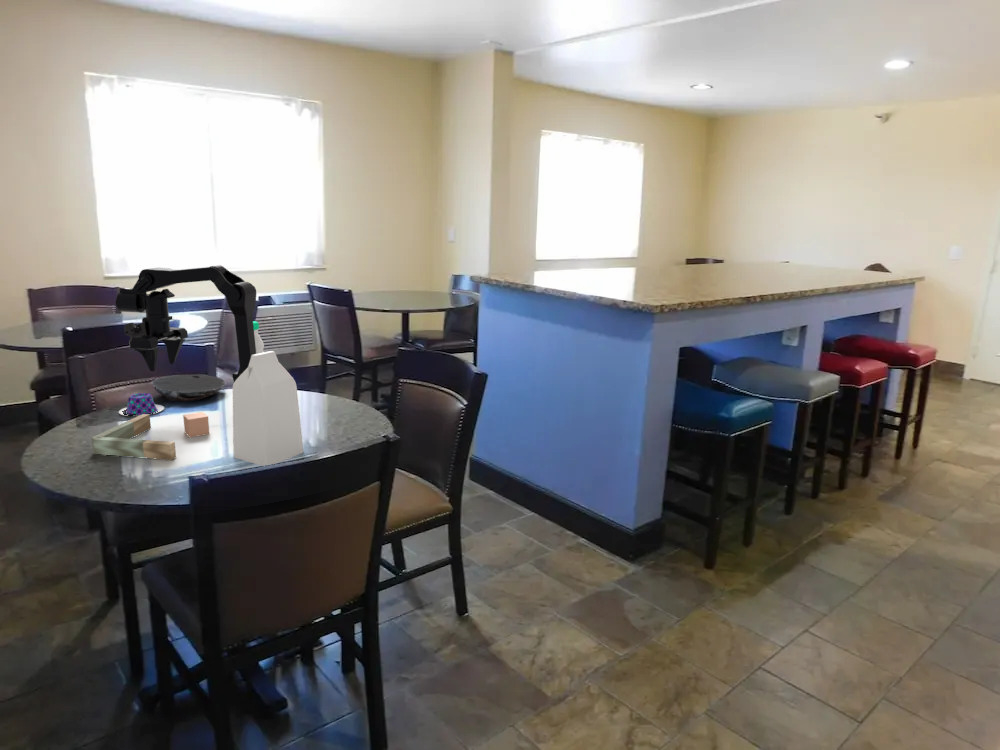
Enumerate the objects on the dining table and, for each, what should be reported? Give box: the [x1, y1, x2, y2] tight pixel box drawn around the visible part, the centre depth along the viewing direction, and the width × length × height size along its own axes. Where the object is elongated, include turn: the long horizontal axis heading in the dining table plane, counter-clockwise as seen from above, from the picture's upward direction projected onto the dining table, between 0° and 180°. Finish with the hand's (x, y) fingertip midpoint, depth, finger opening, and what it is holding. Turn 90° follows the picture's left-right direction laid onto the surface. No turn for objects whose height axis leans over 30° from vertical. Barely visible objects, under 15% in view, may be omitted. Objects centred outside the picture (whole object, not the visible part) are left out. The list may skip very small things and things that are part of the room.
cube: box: [182, 411, 210, 438], centre depth 183 cm, size 5×5×5 cm
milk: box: [232, 350, 304, 467], centre depth 166 cm, size 12×12×26 cm
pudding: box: [118, 392, 165, 417], centre depth 200 cm, size 12×12×5 cm
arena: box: [91, 414, 177, 461], centre depth 174 cm, size 21×21×4 cm
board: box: [150, 374, 227, 403], centre depth 218 cm, size 22×22×5 cm
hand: (162, 367), depth 193 cm, fingers open, 9 cm apart
